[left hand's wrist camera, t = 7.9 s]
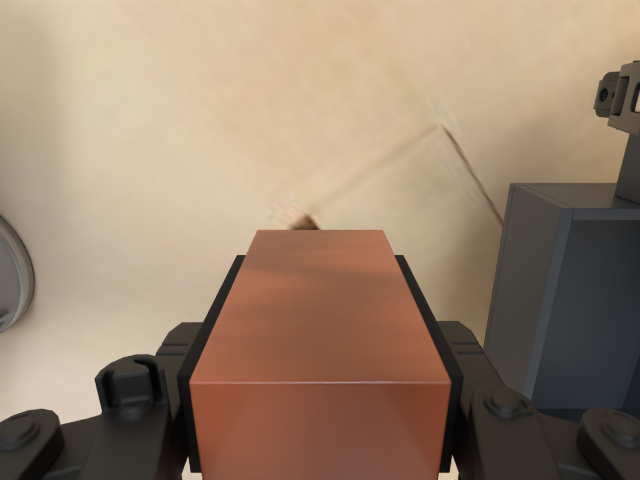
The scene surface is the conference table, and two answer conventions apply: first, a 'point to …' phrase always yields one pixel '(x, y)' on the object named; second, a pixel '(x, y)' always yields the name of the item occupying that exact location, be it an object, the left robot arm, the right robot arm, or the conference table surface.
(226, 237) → the conference table surface
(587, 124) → the conference table surface
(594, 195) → the tray
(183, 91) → the conference table surface
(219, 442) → the block
